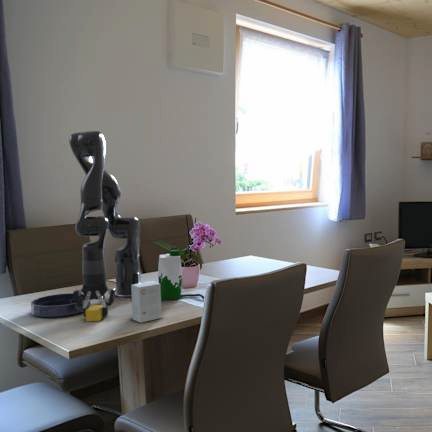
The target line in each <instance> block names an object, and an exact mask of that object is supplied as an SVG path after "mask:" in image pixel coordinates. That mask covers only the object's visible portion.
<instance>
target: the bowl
mask: <svg viewBox="0 0 432 432" xmlns="http://www.w3.org/2000/svg"><path fill="white" fill-rule="evenodd" d="M80 296H81V299H82V303H84V301H85V298H86V296H85V295H84V294H83V293H82V294H81V295H80ZM90 306H91V301H90V302H89V304H88V307H90ZM30 312H31V315H32V316H34V317H40V318H64V317H69V316H75V315H78V314H81V313H83V308H82V307H78V306H77V304H76V300H75V297H74V294H73V292H69V293H66V292H65V293H56V294H49V295H45V296H41V297H37V298H35V299H33V300H31V301H30Z"/></svg>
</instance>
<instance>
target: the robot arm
mask: <svg viewBox="0 0 432 432" xmlns="http://www.w3.org/2000/svg"><path fill="white" fill-rule="evenodd" d="M68 142H69V143H68V144H69V147H70V150H71V152H72V154H73V156H74V157H75V159H76V161H77V163H78V164H79V166H80V168H81V169H82V171H83V173H84V174H85V177H84V178H83V180H82V182H81V184H80V191H79V192H80V193H79V195H80V199H79V200H80V206H79V207H80V208H79V213H78V216H77V219H76V221H75V227H74V228H75V229H74V230H75V233H76V234H77V235H78V236H79V237H82V238H83V237H97V239H96V240H93V241H90V242H86V243H84V244H83V245H82V247H81V252H82V263H81V274H82V287H81V288H80V289H75V290H74V291H73V292H72V293H73V294H74V297H75V300H76V304H77V306H78V307H82V308H83V312H82V313H83V315H82V316H83V317H84V318H85V319H86V310H87V309H88V308H89V307H88V304H89V302H90V303H91V301H92V300H98V301H99V302H100V305H102V306H103V308H102V310H103V318H106V317H107V316H108V314H109V307H110V306H112V305H113V304H114V301H115V296H116V297H119V298H132V291H131V285H133V284H139V283H144V282H145V281H142V271H141V269H140V248H141V223H140V221H139V219H138V217H134V216H120V215H119V213H118V210H117V208H118V204H119V202H120V199H121V196H122V191H121V189H120V186H119V183H118V182H117V179H116V178H115V176H114V175H112V174H111V173H110V172H109V171H108V170H106V169H105V165H106V164H105V163H106V154H107V143H106V138H105V136H104V134H103V132H101V131H99V130H89V131H80V132H74V133H71V134H70V135H69V138H68ZM92 157H93V158H92ZM98 211H102V213H103V216H100V215H99V216H88V215H89V214H90V213H91V214H92V213H94V212H98ZM108 232H109V233H110V235H111V237H113V238H114V239H117V240H126V243H125V244H124V245H122V246H119V247H116V248H115V249H114V262H115V263H114V266H115V287H114V288H111V287H110V288H109V287H108V286H107V271H106V270H107V269H106V268H107V265H106V260H105V259H106V257H105V245H106V239H107V236H108ZM106 293H108V296H109V298H108V300H107V297H106V295H105V294H106ZM81 294H84V295H85V296H86V298H85V301H84V303H82V299H81V296H80V295H81ZM185 297H201V298H202V299H203V300H204V297H205V296H204V295H203V294H201V293H193V294H192V293H188V294H187V293H186V294H181V296H180V298H185ZM161 300H162V298H161Z"/></svg>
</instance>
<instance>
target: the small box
mask: <svg viewBox="0 0 432 432" xmlns="http://www.w3.org/2000/svg"><path fill="white" fill-rule="evenodd" d="M143 282H144V283H139V284H133V285H131V291H132V296H131V312H132V320H133V321H135V322H138V323H141V324H142V323H146V322H149V321H153V320H158V319H162V318H163V317H162V299H161V286H160V283H159V282H157V281H153V280H151V281H143Z"/></svg>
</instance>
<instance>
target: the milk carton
mask: <svg viewBox="0 0 432 432" xmlns="http://www.w3.org/2000/svg"><path fill="white" fill-rule="evenodd" d="M182 269H183V268H182V254H181V250H180V249H170V250H169V253H166V254H165V253H164V254H159V256H158V267H157V275H158V276H157V277H158V278H157V279H158V283H160V286H161V298H162V299H161V301H170V300H181V297H180V296H181V295H182V287H183V280H182V278H183V276H182V275H183V274H182V273H183V272H182Z"/></svg>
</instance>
